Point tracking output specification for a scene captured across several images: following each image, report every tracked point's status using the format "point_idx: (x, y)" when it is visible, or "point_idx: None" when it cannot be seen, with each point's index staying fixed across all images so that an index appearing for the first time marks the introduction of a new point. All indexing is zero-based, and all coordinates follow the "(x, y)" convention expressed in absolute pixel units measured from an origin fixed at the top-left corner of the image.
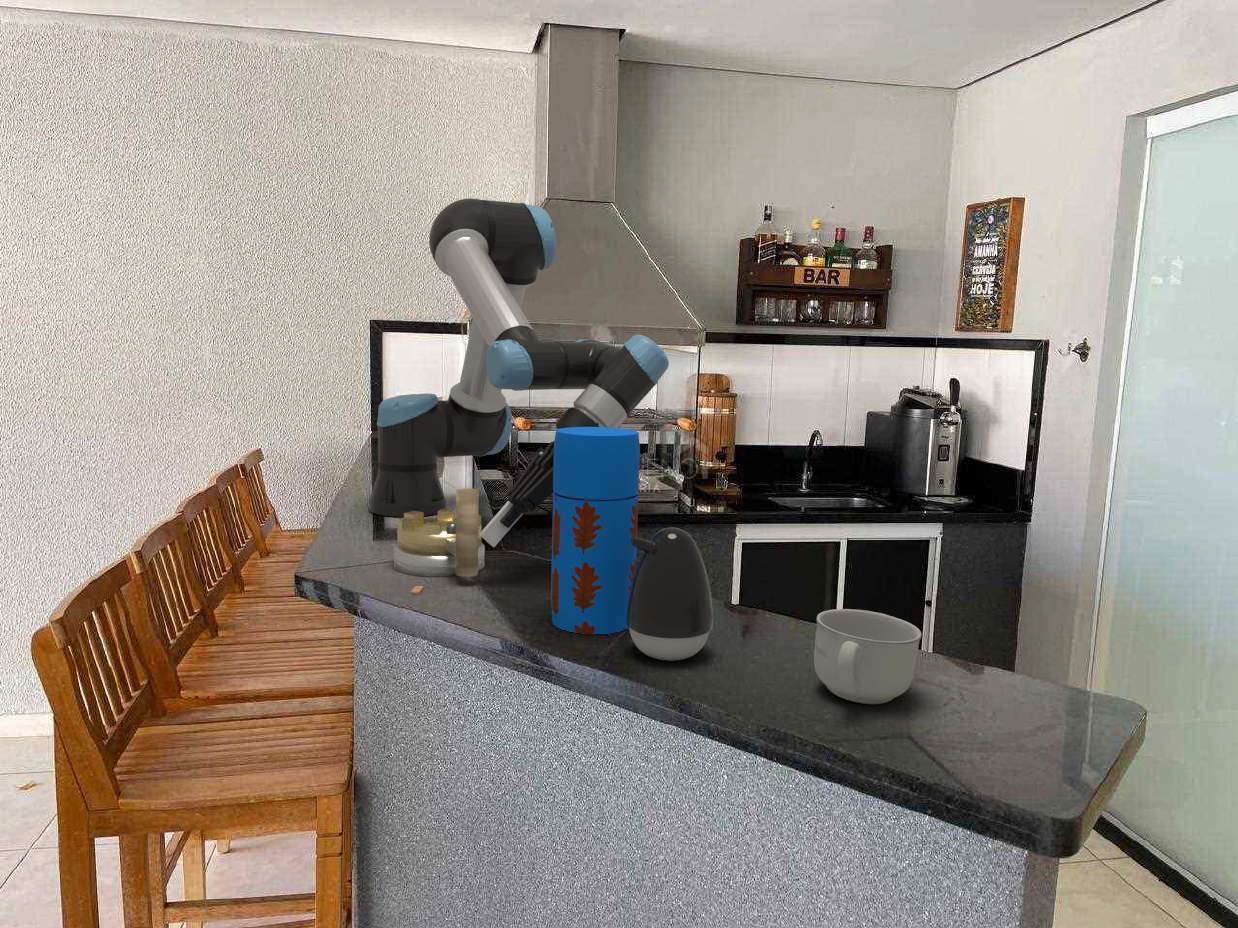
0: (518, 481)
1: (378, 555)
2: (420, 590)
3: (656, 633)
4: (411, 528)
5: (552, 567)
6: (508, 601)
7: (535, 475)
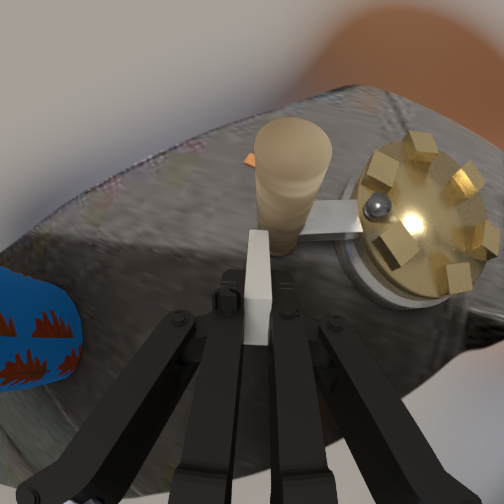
0: (358, 369)
1: None
2: (253, 166)
3: None
4: (407, 153)
5: (9, 270)
6: (156, 272)
7: (226, 422)
